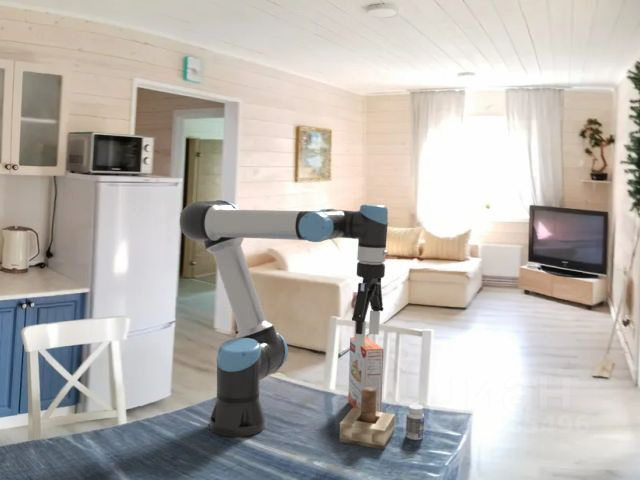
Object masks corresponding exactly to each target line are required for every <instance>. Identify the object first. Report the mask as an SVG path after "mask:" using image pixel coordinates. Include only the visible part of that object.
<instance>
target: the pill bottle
mask: <svg viewBox="0 0 640 480" xmlns="http://www.w3.org/2000/svg"><path fill="white" fill-rule="evenodd" d="M405 422H406V424H405V436H406V438H407V439H409V440H414V441H418V440H422V439H423V438H424V431H425V430H424V429H425V427H424V426H425V414H424V406H423V405H422V404H417V403H411V404H409V405H408V412H407V413H406V421H405Z"/></svg>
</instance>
